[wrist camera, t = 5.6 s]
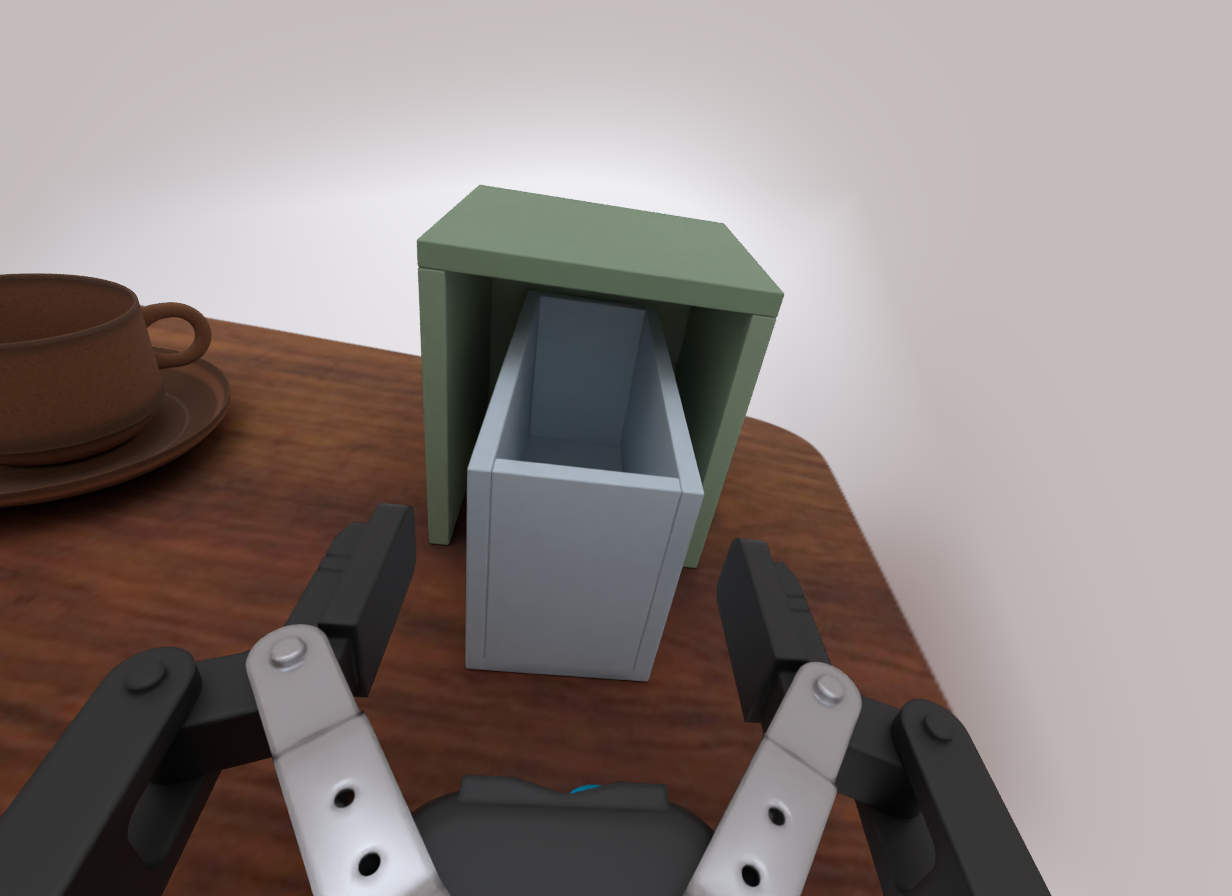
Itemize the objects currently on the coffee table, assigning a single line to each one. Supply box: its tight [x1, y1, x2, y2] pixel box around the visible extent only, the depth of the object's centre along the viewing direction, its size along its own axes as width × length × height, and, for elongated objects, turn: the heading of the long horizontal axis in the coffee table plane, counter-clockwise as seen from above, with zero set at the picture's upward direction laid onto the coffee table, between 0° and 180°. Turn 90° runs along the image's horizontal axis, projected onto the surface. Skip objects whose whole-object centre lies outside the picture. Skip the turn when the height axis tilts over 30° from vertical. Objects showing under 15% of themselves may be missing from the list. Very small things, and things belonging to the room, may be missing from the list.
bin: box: [466, 290, 704, 682], centre depth 22 cm, size 14×6×8 cm, turn 1°
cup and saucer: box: [0, 274, 230, 508], centre depth 22 cm, size 12×12×6 cm
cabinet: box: [417, 185, 784, 568], centre depth 24 cm, size 10×11×12 cm
